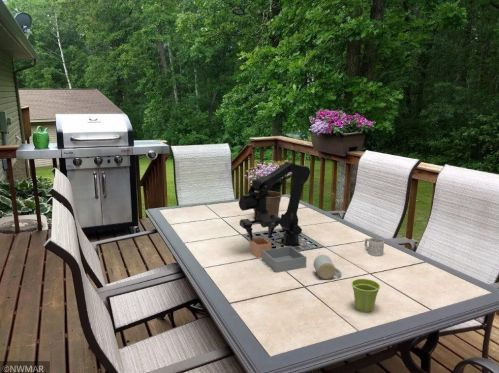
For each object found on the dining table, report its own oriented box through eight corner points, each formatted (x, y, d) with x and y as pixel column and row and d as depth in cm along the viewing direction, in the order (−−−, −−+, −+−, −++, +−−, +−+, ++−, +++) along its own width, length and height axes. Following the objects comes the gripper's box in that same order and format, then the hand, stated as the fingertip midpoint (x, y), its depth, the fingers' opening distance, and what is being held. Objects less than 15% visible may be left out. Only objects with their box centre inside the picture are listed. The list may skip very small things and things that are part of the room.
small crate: (263, 249, 189) (263, 237, 188) (271, 255, 181) (271, 243, 180) (249, 251, 187) (249, 239, 186) (257, 258, 179) (257, 245, 178)
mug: (386, 254, 182) (387, 241, 181) (376, 257, 179) (377, 243, 178) (369, 247, 191) (370, 234, 189) (359, 250, 187) (360, 237, 186)
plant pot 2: (346, 301, 140) (347, 278, 138) (372, 300, 140) (373, 277, 139) (355, 315, 130) (357, 291, 129) (383, 314, 131) (385, 290, 129)
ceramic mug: (317, 280, 156) (318, 262, 154) (312, 271, 164) (313, 254, 162) (344, 280, 157) (345, 261, 155) (337, 271, 165) (338, 254, 163)
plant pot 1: (286, 219, 237) (286, 192, 234) (273, 226, 224) (273, 198, 221) (262, 215, 246) (263, 189, 242) (249, 221, 233) (248, 194, 229)
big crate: (290, 256, 181) (290, 246, 180) (306, 268, 168) (306, 257, 167) (262, 260, 176) (262, 250, 175) (275, 273, 163) (276, 262, 162)
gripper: (248, 213, 169) (248, 248, 172) (287, 209, 176) (286, 242, 179) (238, 207, 179) (239, 240, 182) (276, 203, 186) (275, 234, 189)
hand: (260, 239), depth 183 cm, fingers open, 9 cm apart
